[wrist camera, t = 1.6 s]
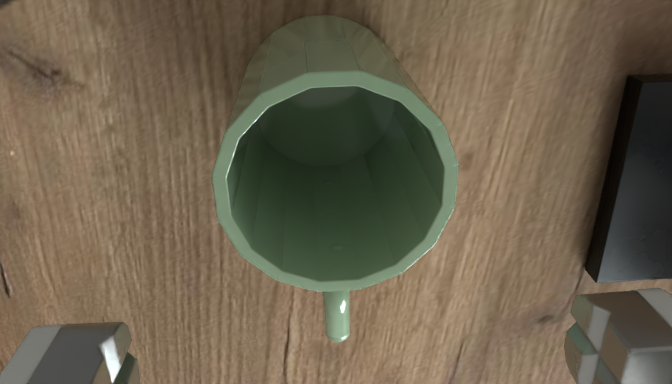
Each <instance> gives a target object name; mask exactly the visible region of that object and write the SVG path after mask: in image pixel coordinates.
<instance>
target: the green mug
mask: <svg viewBox="0 0 672 384" xmlns="http://www.w3.org/2000/svg"><path fill="white" fill-rule="evenodd" d="M458 168H459V165H458V160H457V158H456V155H455V152H454V150H453V147H452V144H451V141H450V139H449V136H448V133H447V131H446V128H445V125H444V123H443V122H442V120H441V118H440V117H439V116H438V114H437V113H436V112H435V110H434V109H433V107H432V106H431V105H430V103H429V102H428V101H427V99H426V98H425V96H424V95H423V94H422V92H421V91H420V89H419V88H418V87H417V85H416V84H415V83H414V81H413V80H412V78H411V77H410V76H409V74H408V73H407V72H406V70H405V69H404V67H403V66H402V65H401V63H400V62H399V60H398V59H397V58H396V56H395V55H394V54H393V52H392V51H391V50H390V49H389V48H388V47H387V46H386V45H385V44H384V43H383V42H382V40H381V39H380V38H379V37H378V36H377V35H375V34H374V33H373V32H372V31H371V30H369V29H368V28H366V27H365V26H363V25H361V24H359V23H357V22H355V21H353V20H350V19H346V18H343V17H338V16H332V15H315V16H308V17H304V18H299V19H297V20H294V21H292V22H289V23H287V24H285V25H283V26H282V27H280V28H278V29H277V30H276V31H274V32H273V33H272V34H270V35H269V36H268V37H267V38H266V39H265V40H264V41H263V42H262V44H261V45H260V46H259V48H258V49H257V50H256V52H255V54H254V55H253V56H252V57H251V59H250V62H249V64H248V67H247V70H246V73H245V76H244V79H243V82H242V85H241V87H240V90H239V93H238V96H237V99H236V102H235V105H234V107H233V110H232V113H231V116H230V119H229V122H228V125H227V128H226V130H225V133H224V136H223V140H222V143H221V146H220V149H219V152H218V156H217V159H216V162H215V165H214V168H213V172H212V177H211V178H212V185H213V192H214V199H215V206H216V214H217V218H218V221H219V223H220V224H221V226H222V227H223V229H224V230H225V232H226V234H227V235H228V237H229V238H230V240H231V242H232V243H233V245H234V246H235V248H236V249H237V251H238V253H239V254H240V255H241V256H242V257H243V258H244V259H246V260H247V261H249V262H250V263H251V264H253V265H254V266H256V267H257V268H259V269H260V270H261V271H263V272H264V273H266V274H267V275H268V276H270V277H271V278H273V279H274V280H276V281H279V282H282V283H286V284H290V285H293V286H297V287H301V288H304V289H308V290H312V291H315V292H317V291H318V292H323V307H324V323H325V333H326V336H327V337H328V339H329V340H331V341H333V342H336V343H339V342H343V341H345V340H346V339H347V338H348V336H349V334H350V290H360V289H364V288H367V287H369V286H372V285H374V284H377V283H379V282H382V281H384V280H387V279H389V278H392V277H394V276H397V275H399V274H401V273H403V272H404V271H405V270H407V269H408V268H409V267H410V266H411V265H412V264H414V263H415V262H416V261H417V260H418V259H419V258H421V257H422V256H423V255H424V254H425V253H426V252H427V251H429V250H430V249H431V248H432V247H433V246H434V245H435V244H436V242H437V240H438V238H439V236H440V234H441V233H442V231H443V229H444V227H445V225H446V223H447V221H448V220H449V218H450V216H451V214H452V212H453V210H454V207H455V203H456V191H457V179H458Z"/></svg>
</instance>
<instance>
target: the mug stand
mask: <svg viewBox="0 0 672 384" xmlns="http://www.w3.org/2000/svg"><path fill="white" fill-rule="evenodd" d="M585 270H586V271H587V272H588V274H589V275H590V276H591V277H592V278H593V280H594V281H595V282H596V283H603V282H621V281H638V280H655V279H672V74H652V75H629V76H628V77H627V81H626V85H625V90H624V94H623V99H622V103H621V108H620V113H619V117H618V122H617V126H616V131H615V135H614V140H613V144H612V149H611V153H610V158H609V162H608V167H607V171H606V176H605V181H604V185H603V190H602V194H601V199H600V203H599V208H598V212H597V217H596V221H595V226H594V230H593V235H592V239H591V244H590V248H589V253H588V258H587V262H586V267H585Z"/></svg>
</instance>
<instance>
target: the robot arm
mask: <svg viewBox="0 0 672 384" xmlns="http://www.w3.org/2000/svg"><path fill="white" fill-rule="evenodd" d="M570 313H571V314H572V316H573V317H574V318H575V320H576V321H577V322H576V323H575V324H574V325H573V326H572V327H571V328H570V329H569V330H568V331H567V332H566V338H565V344H564V349H565V357H566V362H567V365H568V368H569V371H570V373H571V375H572V376H573V378H574V380H575V381H576V383H577V384H672V296H671V295H670V294H669V293H668V292H667V291H665V290H662V289H660V288H650V289H639V290H631V291H624V292H608V293H593V294H578V295H577V296H576V297H575V299H574V301H573V303H572V308H571V312H570ZM131 341H132V339H131V335H130V332H129V328H128V325H126V324H125V323H124V322H108V323H83V324H66V325H44V326H37V327H35V328H33V329H31V330H30V331H29V333H28V334H27V336H26V337H25V338H24V340H23V341H22V343H21V344H20V346H19V347H18V349H17V350H16V352H15V353H14V355H13V356H12V358H11V359H10V361H9V362H8V364H7V365H6V367H5V368H4V370H3V371H2V373H1V374H0V384H140V376H139V368H138V363H137V359H136V358H134V357H133V356H132V355H131V354H129V353H128V352H127V351H128V349H129V346H130V343H131Z"/></svg>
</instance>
